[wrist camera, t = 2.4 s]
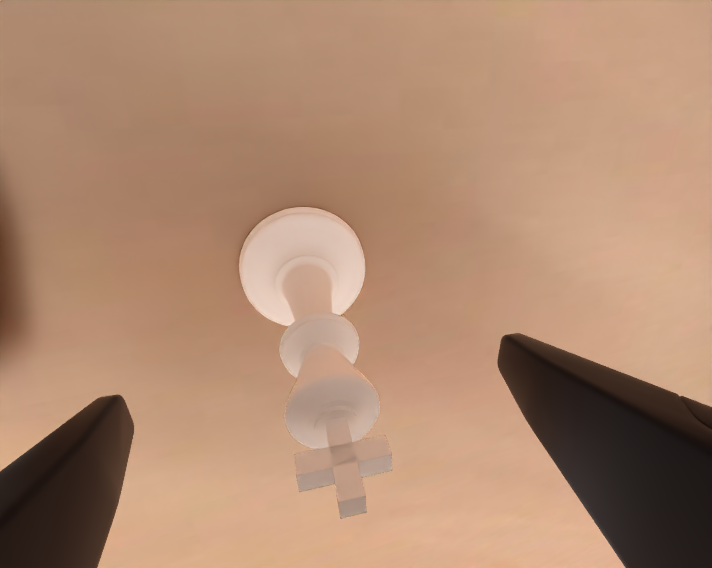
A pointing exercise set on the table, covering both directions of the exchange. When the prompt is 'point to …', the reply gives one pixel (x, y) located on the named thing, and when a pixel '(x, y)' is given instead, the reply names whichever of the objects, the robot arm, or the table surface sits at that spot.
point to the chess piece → (318, 346)
